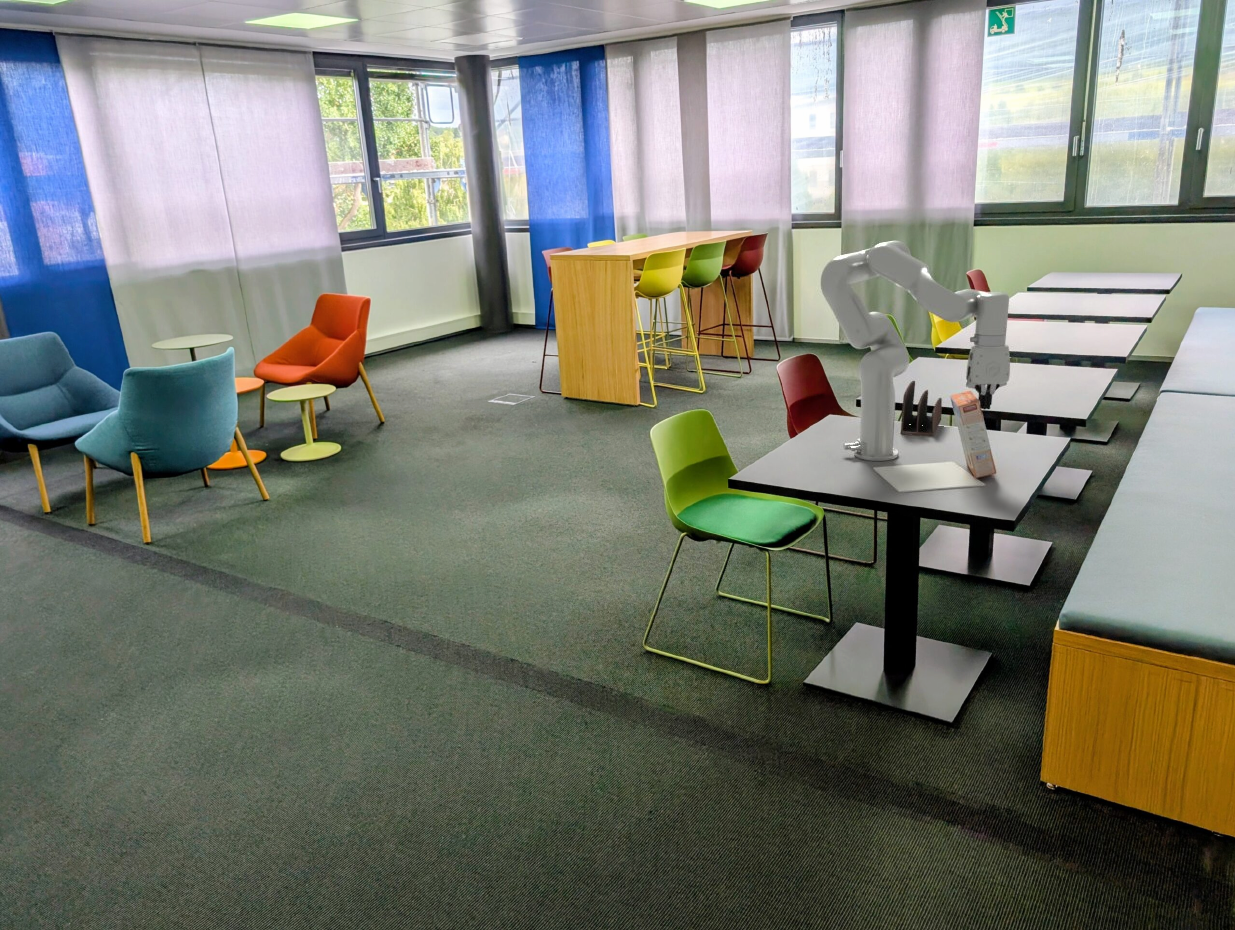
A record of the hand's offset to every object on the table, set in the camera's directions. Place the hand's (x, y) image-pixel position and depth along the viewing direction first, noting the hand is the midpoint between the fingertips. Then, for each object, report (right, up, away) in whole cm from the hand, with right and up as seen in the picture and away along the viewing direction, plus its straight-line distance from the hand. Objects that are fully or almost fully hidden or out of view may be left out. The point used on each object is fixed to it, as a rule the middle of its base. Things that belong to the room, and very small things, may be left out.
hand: (984, 408), depth 244 cm
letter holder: (0, -3, +50) cm, 51 cm away
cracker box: (+2, -17, +5) cm, 18 cm away
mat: (-14, -19, +5) cm, 24 cm away
